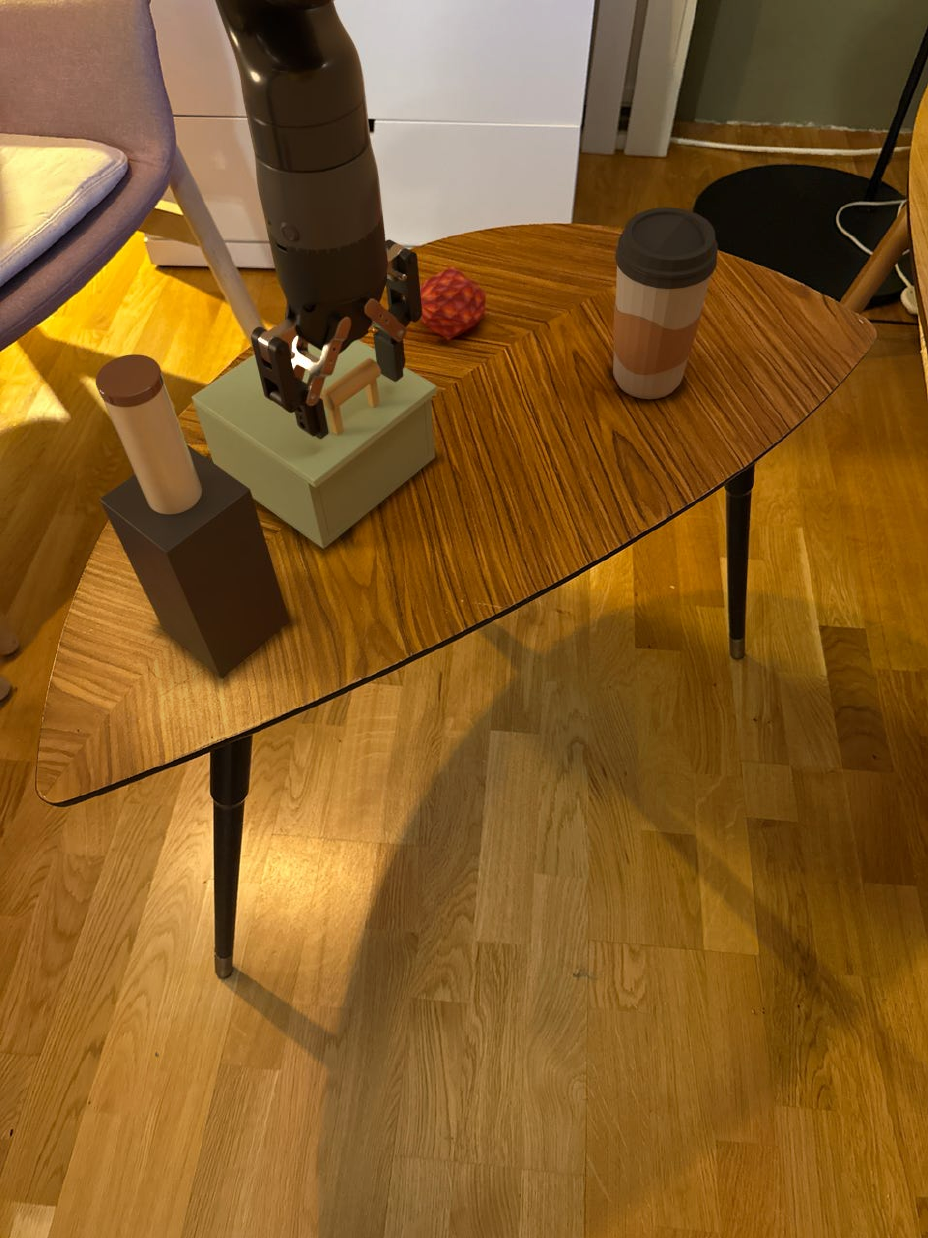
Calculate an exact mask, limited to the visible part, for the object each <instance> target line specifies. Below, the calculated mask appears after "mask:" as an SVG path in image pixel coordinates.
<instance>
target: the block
mask: <svg viewBox="0 0 928 1238" xmlns="http://www.w3.org/2000/svg"><path fill="white" fill-rule="evenodd" d="M186 444H187V447H188V449H189V452H190V455H191V458H192V460H193V463H194V466H195V469H196V472H197V474H198V477H199V480H200V483H201V486H202V494H201V497H200V499H199V501H198V502H197V503H196V504H195V505H194V506H193V507H191V508H190V509H188V510H186V511H184V512H181V513H178V514H161V513H158V512H156V511H154V510H153V509H152V508H151V507H150V506H149V505H148V503H147V500H146V498H145V496H144V493H143V491H142V489H141V486H140V484H139V482H138V479H137V477H136V475H135V474H133V475H132V476H130V477H129V478H127V479H125V480H124V481H123V482H122V483H120V484H119V485H117V486H116V487H115V488H113V489H112V490H110V491H108V492H107V493H106V494H105V495H103V496H101V497H100V498H99V502H100V503H101V506H102V508H103V510H104V512H105V514H106V516H107V518H108V520H109V523H110V524H111V526H112V528H113V530H114V532H115V535H116V536H117V539H118V540H119V543H120V544H121V547H122V549H123V551H124V553H125V555H126V557H127V559H128V561H129V564H130V565H131V567H132V569H133V571H134V573H135V576H136V577H137V579H138V581H139V583H140V586H141V587H142V589H143V592H144V594H145V596H146V598H147V600H148V602H149V604H150V606H151V608H152V610H153V613H154V615H155V616H156V618H157V620H158V622H159V625H160V626H161V628H162V630H163V631H164V632H165V633H166V634H167V635H169V636H170V637H171V638H172V639H173V640H174V641H175V642H177V643H178V644H179V645H181V646H182V647H183V648H184V649H185V650H186V651H187V652H189V653H190V654H191V656H194V657H195V658H196V659H197V660H198V661H199V662H201V663H202V664H203V665H204V667H206V668H207V669H209V670H210V671H211V672H212V673H213V674H215V675H216V676H217V677H218V678H219V679H221V680H222V679H224V678H225V676H227V675H228V674H229V673H231V671H233V670H234V669H235V668H236V667H237V666H239V665H240V664H241V663H242V662H243V661H244V660H246V659H247V658H248V657H249V656H251V655H252V654H253V653H254V652H255V651H256V650H258V649H259V648H260V647H261V646H262V645H263V644H264V643H266V642H267V641H268V640H269V639H271V638H272V637H273V636H274V635H275V634H276V633H278V632H279V631H280V630H281V629H282V628H283V627H285V626H286V625H287V624H288V623H289V622H290V621H291V620H290V616H289V614H288V611H287V607H286V604H285V600H284V596H283V594H282V591H281V587H280V583H279V580H278V578H277V574H276V572H275V567H274V564H273V560H272V557H271V554H270V551H269V548H268V544H267V540H266V537H265V534H264V531H263V527H262V524H261V521H260V518H259V517H260V516H259V514H258V511H257V507H256V504H255V501H254V500H255V499H254V498H253V497H252V494H251V490H250V489H249V488H248V487H246V486H245V485H243V484H242V483H241V482H239V481H238V480H236V479H235V478H234V477H232V476H231V475H229V474H228V473H227V472H225V471H224V470H223V469H221V468H220V467H218V466H217V465H216V464H214V463H213V461H212V460H210V459H209V458H208V457H206V456H204V455H203V454H202V453H200V452H199V451H198V450H196V449H195V448H194V447H192V446H191V445H189V444H188V443H186Z"/></svg>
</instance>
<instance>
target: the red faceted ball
mask: <svg viewBox="0 0 928 1238" xmlns="http://www.w3.org/2000/svg"><path fill="white" fill-rule="evenodd" d="M420 292H421V303H422V316H421V318H420V320H421V321H422V322H423V323H424V325H426V326H427V327H428V328H430V329H432V330H433V331H435V332H436V333H438V334H439V335H441V336H442V337H443V338H445V339H447V340H448V341H450V340H452V339H453V338H456V337H457V336H460V335H461V334H462V333H464V332H466V331H467V330H469V329H471V328H473V327H474V326H476V324H478V323H479V322H480V321H481V320H482V319H483V318H484V317H485V313H486V300H487V299H486V297H487V294H486V293H485V292H484V291H483V289H482V287H480V286H479V285H478V284H477V282H476V281H474V280H472V279H471V278H470V277H468V275H465V274H464V273H463V272H461V271H460V270H459V269H458V268H457V267H456V266H453V265H451V266H450V267H448V268H446V269H444V270H442V271H440V272H439V273H436V274H435V275H432V276H431V277H429V278H428V279H426V280H425V281H424V282H423V283H422V284H420Z"/></svg>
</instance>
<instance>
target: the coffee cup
mask: <svg viewBox="0 0 928 1238" xmlns="http://www.w3.org/2000/svg"><path fill="white" fill-rule="evenodd" d="M718 246H719V244H718V242H717V240H716V232H715V229H714V226H713V225H712V224H711V222H709V220H708V219H707V218H705V217H704V216H702V215H700V214H699V213H696V212H694V211H692V210H688V209H684V208H680V207H671V206H669V207H668V206H665V207H663V206H662V207H653V208H649V209H646V210H643V211H641V212H638V213H636V214H635V215H633V216H632V217H631V218H630V219H628V221H627V223H626V225H625V226H624V229H623V230H622V232H621V234H620V236H619V237H618V240H617V247H616V248H615V253H614V254H615V255H614V260H615V263H616V281H615V282H616V285H615V297H614V309H613V333H612V334H613V335H612V337H613V338H612V339H613V340H612V347H613V365H612V366H613V367H612V374H613V377H614V380H615V382H616V383H617V385H618V387H619V388H620V389H621V390H622V391H623V392H624V393H625V394H628V395H630V396H632V397H634V398H637V399H642V400H654V399H655V400H656V399H657V400H658V399H660V398H664V397H667V396H668V395H670V394H672V393H673V392H674V391H675V390H676V389H677V388H678V387H679V385H681V382H682V381H683V378H684V375H685V371H686V367H687V365H688V364H687V363H688V360H689V357H690V354H691V352H692V349H693V346H694V343H695V342H694V341H695V338H696V334H697V333H698V332H697V331H698V327H699V324H700V321H701V317H702V315H703V314H702V313H703V307H704V303H705V300H706V296H707V292H708V289H709V285H710V283H711V278H712V274H714V272H715V270H716V268H717V266H718V253H719V252H718V251H719V247H718Z"/></svg>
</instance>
